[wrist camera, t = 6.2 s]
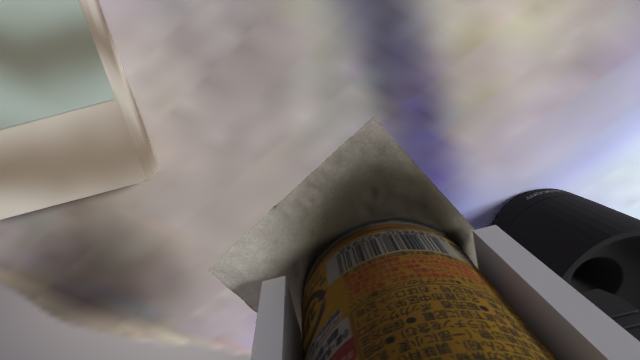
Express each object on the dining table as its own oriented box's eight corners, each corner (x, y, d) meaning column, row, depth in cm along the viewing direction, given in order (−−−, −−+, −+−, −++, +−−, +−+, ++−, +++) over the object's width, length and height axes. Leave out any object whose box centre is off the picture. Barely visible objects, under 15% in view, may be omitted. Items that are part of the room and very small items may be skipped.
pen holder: (617, 211, 35) (742, 268, 25) (552, 308, 37) (645, 395, 27) (520, 162, 33) (612, 202, 23) (457, 265, 35) (519, 342, 25)
